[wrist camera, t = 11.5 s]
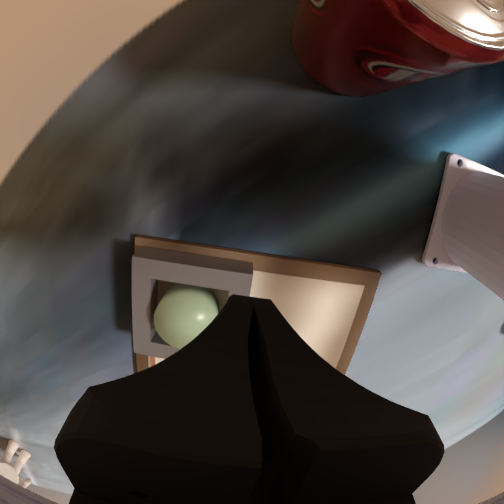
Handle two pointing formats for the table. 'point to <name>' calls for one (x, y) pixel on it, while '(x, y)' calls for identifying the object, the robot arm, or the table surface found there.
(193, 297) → the button
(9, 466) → the hat wearing toy figure
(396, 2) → the soda can
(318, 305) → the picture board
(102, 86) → the table surface
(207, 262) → the button housing
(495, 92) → the table surface
